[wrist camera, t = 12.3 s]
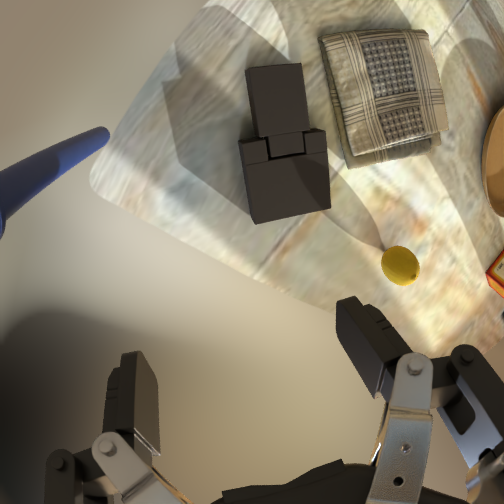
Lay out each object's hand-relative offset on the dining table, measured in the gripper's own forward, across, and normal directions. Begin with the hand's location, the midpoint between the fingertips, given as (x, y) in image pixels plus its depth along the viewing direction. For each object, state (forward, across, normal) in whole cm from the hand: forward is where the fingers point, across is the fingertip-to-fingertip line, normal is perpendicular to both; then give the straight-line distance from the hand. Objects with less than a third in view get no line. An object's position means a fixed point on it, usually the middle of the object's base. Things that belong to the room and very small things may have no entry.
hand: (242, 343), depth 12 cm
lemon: (+28, -26, +18) cm, 42 cm away
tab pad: (+28, -10, -6) cm, 30 cm away
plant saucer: (+27, -58, +4) cm, 64 cm away
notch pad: (+28, -10, +2) cm, 29 cm away
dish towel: (+28, -26, -7) cm, 39 cm away
